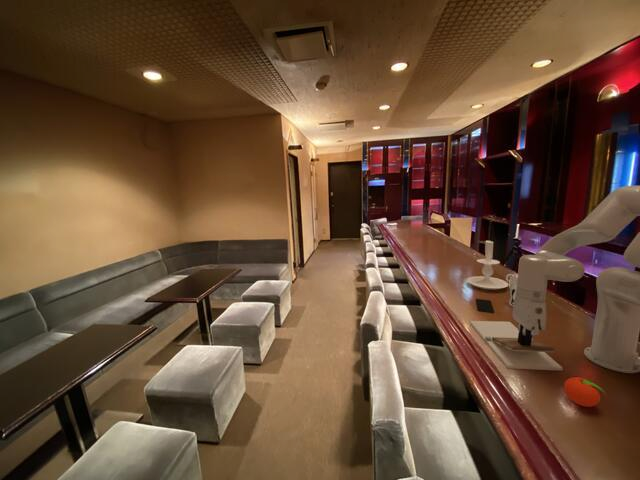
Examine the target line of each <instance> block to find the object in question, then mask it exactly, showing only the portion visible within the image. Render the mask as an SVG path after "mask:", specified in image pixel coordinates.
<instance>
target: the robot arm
mask: <svg viewBox="0 0 640 480" xmlns="http://www.w3.org/2000/svg"><path fill="white" fill-rule="evenodd" d="M639 216H640V185H625V186H620V187H618V188H615V189H614V190H612V191H611V192H610V193H609V194H607V196H606V197H605V198H604V199H603V200H602V201H601V202H600V203H599V204H598V205H597V206H596V207H595V208H594V209H593V210H592V211H591V212H590V213H589V214H588V215H587V216H586V217H585V218H584V219H583V220H582V221H581V222H580V223H577V225H575V226H573V227H570V228H568V229H566V230H563V231H562V232H560V233H558V234H556V235H555V236H553V237H550V238H549V239H548V240H547V241H546V242H545V243H543V245H542V246H541V247H540V248H539V249H538V250H537V251H536V253H535V254H524V255H522V256H521V257H520V258H519V262H518V271H517V274H518V277H517V286H516V296H515V300H514V305H513V307H512V318H513V319H514V320H515V322H516V324H517V329H518V331H519V334H518V343H520V345H525V346H530V345H531V341H532V338H533V336H534V337H535V336H536V337H539V336H540V331H541V332H545V331H546V325H547V303H546V294H547V287H548V280H550V281H558V282H568V283H569V282H576V281H578V280H579V279H581V278H582V277H584V275H585V272H586V270H585V266H584V264H583V263H582V262H580V261H579V260H577V259H575V258H572V257H569V256H565V255H566V254H567V253H569V252H570V251H572V250H575V249H577V248H580V247H583V246H588V245H595V244H601V243H606V242H609V241H612V240H614V239H615V238H616V237H617V236H618V235H619V234H620V233H621V232H623V230H624V229H625V228H626V227H628V225H629V224H630V223H631V222H632V221H634V220H635V219H636V218H637V217H639ZM623 260H624V261H625V262H626V263H627V264H629V265H631V266H633V267H636V268H639V269H640V231H639V232H638V233H637V234H636V235H635V237H634V238H633V239H632V241H631V242H630V243H629V245H628V246H627V248H626V249H625V250H624V253H623ZM595 284H596V292H597V308H596V313H595V320H594V327H593V332H592V333H593V335H592V340H591V346H588V347H586V348H584V351H583V355H584V356H585V357H586V358H587V359H588V360H589V361H590V362H592V363H594V364H596V365H597V366H600V367H603V368H604V369H605V368H606V369H608V370H611V371H615V372H620V373H623V374H624V373H625V374H636V373H639V372H640V356H639V352H638V351H637V347H638V342H639V335H640V271H636V270H634V269H630V268H626V267H619V266H617V267H616V266H615V267H614V266H612V267H608V268H605V269H603V270H601V271H600V272H599V273H598V275H597V277H596V281H595Z"/></svg>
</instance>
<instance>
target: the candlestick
mask: <svg viewBox="0 0 640 480" xmlns="http://www.w3.org/2000/svg"><path fill="white" fill-rule="evenodd" d="M484 253H485V258H479V259H476V262H478V263H480V264H483V265H484V266H482V269H481V274H482V275H483V276H482V275H479V276H470V277H467V278H466V281H467V283H469V284H470V285H472V286H474V287H477V288H479V289H483V290H490V291H491V290H492V291H495V290H501V289H504V288H506V287H507V288H508V287H509V283H508V282H509V281H510V279H508V278H509V277H510V275H512V274H513V273H509V274H507V275H506V276H505V279H506V280H503V279H500V278H497V277H491V276H493V274H494V269H493V265H498V264H500V263H501V262H500V261H499V260H497V259H493V256H494V255H493V254H494V241H492V240H485V244H484Z"/></svg>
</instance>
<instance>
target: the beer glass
mask: <svg viewBox="0 0 640 480" xmlns="http://www.w3.org/2000/svg"><path fill="white" fill-rule="evenodd" d="M511 274H512V275H510V276H509V280H510V281H509V283H508V284H509V285H508V287H509V301H508V305H509V306H510V307H512V308H513V305H514V300H515V296H516V286H517V277H518V273H511Z"/></svg>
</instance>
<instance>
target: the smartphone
mask: <svg viewBox="0 0 640 480" xmlns="http://www.w3.org/2000/svg"><path fill="white" fill-rule="evenodd" d="M475 304H476V310H477V312H481V313H488V314H495V309H494V306H493V303H492V300H490V299H484V298H483V299H482V298H475Z"/></svg>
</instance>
